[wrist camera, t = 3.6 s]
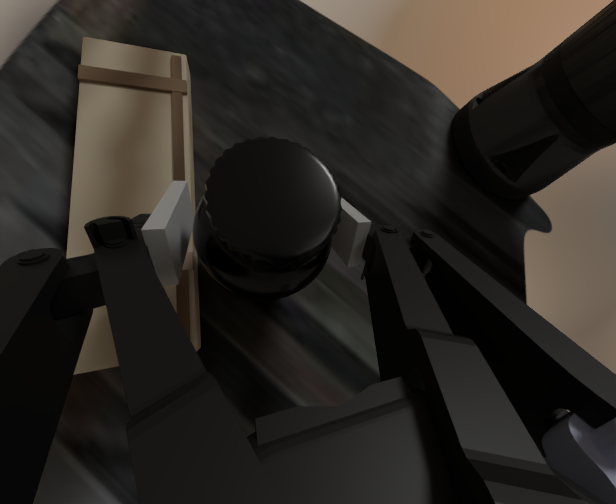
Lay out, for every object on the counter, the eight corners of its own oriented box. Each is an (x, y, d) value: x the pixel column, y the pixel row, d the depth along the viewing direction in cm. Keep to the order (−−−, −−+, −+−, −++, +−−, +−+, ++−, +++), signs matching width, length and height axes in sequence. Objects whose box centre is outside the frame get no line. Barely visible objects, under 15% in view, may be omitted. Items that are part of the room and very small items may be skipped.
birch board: (190, 75, 21) (185, 52, 19) (200, 347, 16) (195, 352, 14) (96, 60, 19) (81, 33, 17) (78, 369, 14) (53, 379, 12)
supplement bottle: (244, 207, 20) (251, 76, 8) (309, 249, 20) (395, 180, 9) (193, 274, 17) (110, 215, 6) (270, 318, 18) (320, 338, 7)
